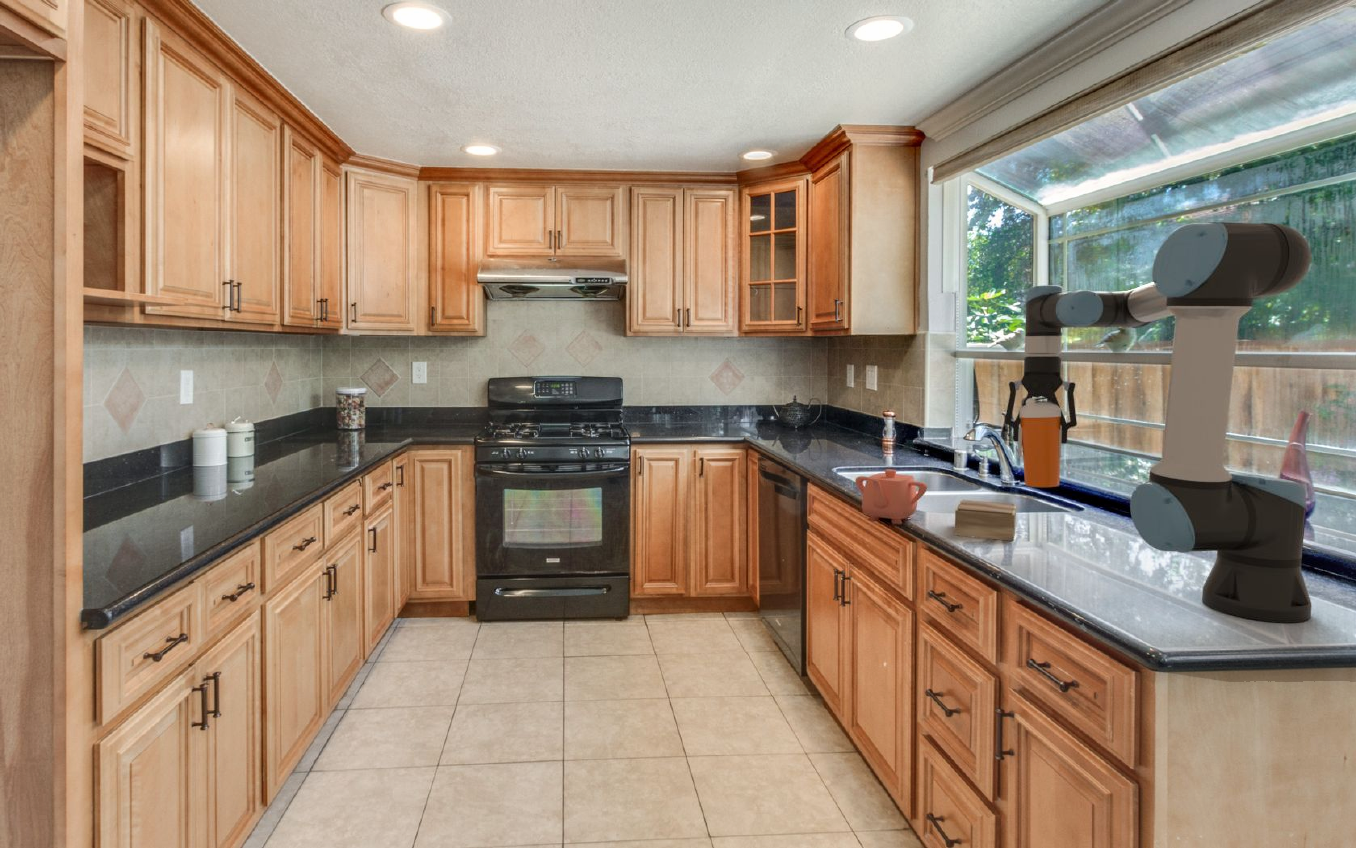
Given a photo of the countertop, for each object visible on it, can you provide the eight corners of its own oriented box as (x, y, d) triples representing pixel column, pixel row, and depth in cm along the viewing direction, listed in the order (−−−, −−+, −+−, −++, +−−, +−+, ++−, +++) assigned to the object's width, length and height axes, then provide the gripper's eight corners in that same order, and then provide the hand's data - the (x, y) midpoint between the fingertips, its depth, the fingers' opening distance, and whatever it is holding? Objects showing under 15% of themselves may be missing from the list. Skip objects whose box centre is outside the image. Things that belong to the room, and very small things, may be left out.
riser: (1013, 540, 182) (1014, 513, 181) (954, 535, 187) (955, 509, 187) (1015, 529, 194) (1016, 503, 193) (959, 524, 199) (960, 499, 198)
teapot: (902, 512, 214) (903, 464, 213) (932, 524, 199) (934, 473, 197) (845, 515, 211) (846, 466, 209) (871, 528, 195) (872, 476, 194)
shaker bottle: (1071, 486, 173) (1069, 396, 172) (1030, 488, 173) (1028, 398, 172) (1052, 481, 182) (1050, 395, 181) (1014, 483, 182) (1011, 397, 181)
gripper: (1092, 355, 174) (1088, 457, 176) (995, 355, 183) (992, 452, 185) (1094, 355, 168) (1090, 461, 170) (993, 355, 176) (989, 456, 178)
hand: (1038, 456), depth 177 cm, fingers closed on shaker bottle, 7 cm apart
